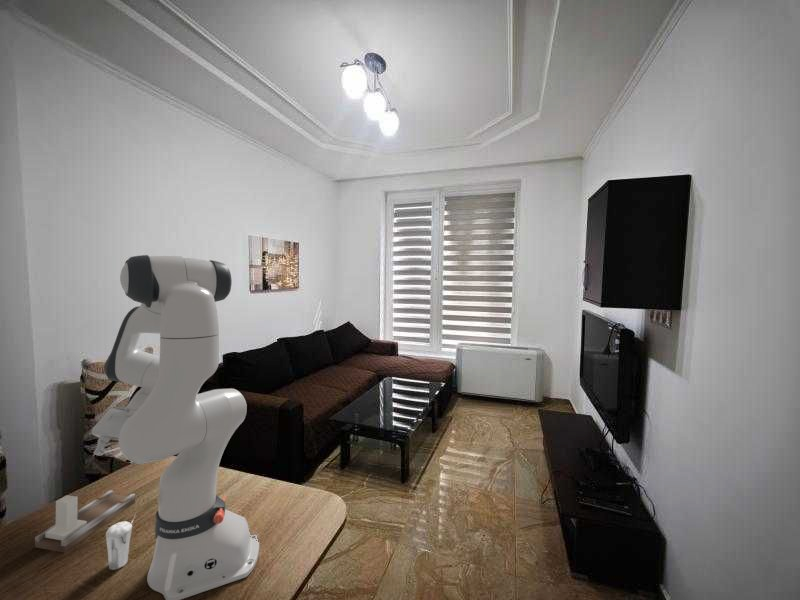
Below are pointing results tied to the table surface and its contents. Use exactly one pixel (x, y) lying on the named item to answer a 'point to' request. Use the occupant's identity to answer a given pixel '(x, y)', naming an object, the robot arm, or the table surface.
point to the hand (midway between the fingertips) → (112, 456)
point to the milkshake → (118, 544)
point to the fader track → (88, 520)
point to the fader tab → (65, 519)
